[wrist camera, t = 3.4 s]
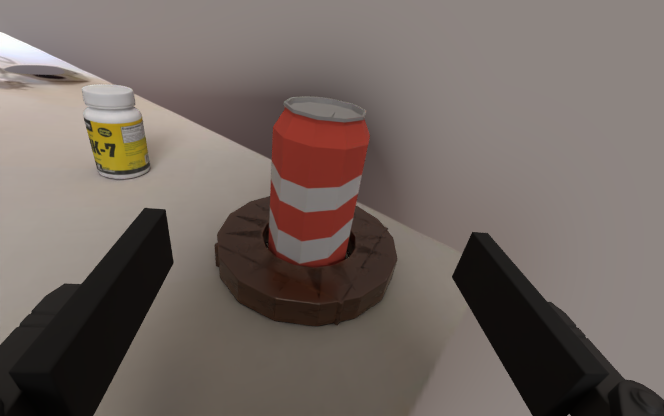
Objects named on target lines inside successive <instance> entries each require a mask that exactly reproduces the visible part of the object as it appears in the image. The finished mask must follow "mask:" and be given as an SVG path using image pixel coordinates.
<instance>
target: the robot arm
mask: <svg viewBox="0 0 664 416" xmlns="http://www.w3.org/2000/svg"><path fill="white" fill-rule="evenodd" d="M172 265H173V256H172V249H171V243H170V236H169V229H168V223H167V216H166V210H165V209H151V208H144V209H143V211H142V212H141V213H140V214H139V215H138V217H137V218H136V219H135V220H134V221H133V223H132V224H131V225H130V226H129V227H128V229H127V230H126V231H125V232H124V234H123V235H122V236H121V237H120V238H119V240H118V241H117V242H116V243H115V244H114V246H113V247H112V248H111V249H110V250H109V252H108V253H107V254H106V255H105V256H104V258H103V259H102V260H101V261H100V262H99V264H98V265H97V266H96V267H95V268H94V270H93V271H92V272H91V273H90V274H89V276H88V277H87V278H86V279H85V281H84V282H83V283H82V284H63V285H62V286H60V287H59V288H57V289H56V290H54V291H53V292H51V293H50V294H48V295H46V296H45V297H44V298H43V299H42V300H41V302H40V303H39V304H38V305H37V306H36V307H35V308H34V309H33V310H32V313H31V314H29V315H28V316H27V317H26V318H25V319H24V320H23V321H22V322H21V323H20V326H19V327H16V329H15V330H14V331H13V332H12V333H11V334H10V335H9V336H8V337H7V338H6V339H5V340H4V342H3V343H2V344H1V345H0V416H93V415H94V413H95V412H96V410H97V408H98V406H99V404H100V402H101V400H102V398H103V396H104V394H105V393H106V391H107V389H108V387H109V385H110V383H111V381H112V379H113V377H114V375H115V373H116V372H117V370H118V368H119V366H120V364H121V362H122V360H123V358H124V356H125V354H126V353H127V351H128V349H129V347H130V345H131V343H132V341H133V339H134V337H135V335H136V333H137V332H138V330H139V328H140V326H141V324H142V322H143V320H144V318H145V316H146V314H147V313H148V311H149V309H150V307H151V305H152V303H153V301H154V299H155V297H156V295H157V293H158V292H159V290H160V288H161V286H162V284H163V282H164V280H165V278H166V276H167V274H168V273H169V271H170V269H171V267H172ZM452 278H453V280H454V281H455V283H456V285H457V287H458V288H459V290H460V292H461V293H462V295H463V297H464V299H465V300H466V302H467V304H468V305H469V307H470V309H471V310H472V312H473V314H474V316H475V317H476V319H477V321H478V323H479V324H480V326H481V328H482V329H483V331H484V333H485V335H486V336H487V338H488V340H489V342H490V343H491V345H492V347H493V348H494V350H495V352H496V354H497V355H498V357H499V359H500V360H501V362H502V364H503V366H504V367H505V369H506V371H507V372H508V374H509V376H510V377H511V379H512V381H513V383H514V384H515V386H516V388H517V390H518V391H519V393H520V395H521V396H522V398H523V400H524V402H525V403H526V405H527V407H528V408H529V410H530V412H531V414H532V415H533V416H567V415H568V414H570V415H571V416H664V400H663V399H662V398H661V397H660V396H659V395H657V394H656V393H655V392H654V391H652V390H651V389H649V388H647V387H646V386H644V385H642V384H640V383H637V382H635V381H632V380H625V379H624V378H623V377H622V376H621V375H620V374H619V372H618V371H617V370H616V369H615V368H614V367H613V366H612V365H611V364H610V362H608V360H607V359H606V358H605V357H604V356H603V355H602V354H601V352H600V351H599V350H598V349H597V348H596V347H595V346H594V345H593V343H592V342H591V341H590V340H589V339H588V338H586V337H585V335H584V333H582V331H581V330H580V329H579V328H577V327H576V325H575V324H574V322H573V321H572V320H571V319H570V318H569V317H568V316H567V314H566V313H564V312H563V311H562V310H561V309H559V308H558V307H556V306H555V305H554V304H553V303H551V302H547V301H546V300H545V299H544V298H543V297H542V295H541V294H540V293H539V292H538V291H537V290H536V288H535V287H534V286H533V285H532V284H531V283H530V281H529V280H528V279H527V278H526V277H525V276H524V275H523V273H522V272H521V271H520V270H519V269H518V268H517V266H516V265H515V264H514V263H513V262H512V261H511V260H510V258H509V257H508V256H507V255H506V254H505V253H504V252H503V250H502V249H501V248H500V247H499V246H498V245H497V243H495V241H494V240H493V239H492V238H491V236H490V235H489V234H488V233H478V232H472V234H471V236H470V238H469V241H468V243H467V245H466V247H465V249H464V251H463V254H462V256H461V258H460V260H459V263H458V265H457V267H456V269H455V271H454V274H453V276H452Z"/></svg>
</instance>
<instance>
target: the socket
mask: <svg viewBox="0 0 664 416" xmlns="http://www.w3.org/2000/svg"><path fill="white" fill-rule="evenodd" d="M269 218H270V196H269V197H265V198H262V199H258V200H254V201H251V202H249V203H247V204H246V205H244V206H242V207H241V208H239V209H237V210H236V211H234V212H233V213H231V214H230V215H229V216H228V218H227V219H226V221H225V222H224V224H223V226H222V227H221V229H220V230H219V232H218V234H217V239H218V243H216V244H215V257H216V266H217V267H219V269H220V278H221V279H222V281H223V282H224V283H225V285H226V286H227V287H228V289H229V290H230V291H231V293H232V294H233V295H234V296H235V298H236V299H237V300H238V302H240V303H241V304H243V305H245V306H247V307H249V308H251V309H253V310H255V311H257V312H259V313H260V314H262V315H264V316H266V317H268V318H270V319H272V320H274V321H281V322H288V323H296V324H303V325H311V326H320V325H325V324H330V323H334V324H336V325H338V324H339V322H340V321H345V320H349V319H354V318H356V317H358V316H359V315H361V314H362V313H364V312H365V311H366V310H368V309H369V308H371V307H372V306H374V305H375V304H376V303H378V302H379V301H381V299H382V298H383V296H384V293H385V291H386V289H387V287H388V285H389V282H390V280H391V278H392V275H393V272H394V269H395V266H396V262H397V255H396V250H395V245H394V240H393V237H392V236H391V234H390V233H389V232H388V231H387V230H388V228H386V227H384V226H383V225H382V223H381V222H380V221H379V220H378V219H377V218H375V217H373V216H372V215H370V214H369V213H367V212H366V211H364V210H362V209H361V208H359V207H358V206H355V211H354V216H353V221H352V226H351V231H350V236H349V241H348V246H347V249H348V251H349V253H350V254H351V255H350V256H349V258H347V259H345V260H343V261H341V262H339V263H337V264H335V265H331V266H323V267H316V268H313V267H306V266H299V265H293V264H291V263H288V262H286V261H284V260H282V259H279V258H277V257H276V256H275V255H274V254H273V253H272V252H271V251H270V250H269V249H268V248H267V247H266V246H265V245H266V243H267V242H268V241H269Z"/></svg>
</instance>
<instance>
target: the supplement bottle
mask: <svg viewBox="0 0 664 416" xmlns="http://www.w3.org/2000/svg"><path fill="white" fill-rule="evenodd" d="M82 93H83V100H84V102H85V104H86V105H87V106H89V107H87V108H86V109H85V110H84V112H83V116H84V121H85V124H86V128H87V132H88V135H89V139H90V143H91V147H92V151H93V154H94V158H95V162H96V166H97V169H98V172H99V173H100V174H101V175H103V176H105V177H108V178H113V179H129V178H134V177H138V176H141V175H143V174H145V173H146V172H148V171H149V169H150V163H149V156H148V150H147V144H146V138H145V132H144V126H143V120H142V115H141V112H140V111H139V110H138V109H137V108H135V107H133V106H134V105H135V98H134V93H133V90H132V89H131V88H129V87H126V86H120V85H110V84H95V85H87V86H84V87H82Z"/></svg>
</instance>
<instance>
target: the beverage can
mask: <svg viewBox="0 0 664 416" xmlns="http://www.w3.org/2000/svg"><path fill="white" fill-rule="evenodd" d="M284 106H285V110H284V111H283V113H282V114H281V116H280V117H279V119H278V120H277V122H276V124H275V125H274V127H273V145H272V169H271V193H270V218H269V242H268V248H269V250H270V251H271V252H272V253H273V254H274V255H275V256H276V257H277V258H279V259H282V260H284V261H286V262H288V263H291V264H293V265H299V266H306V267H313V268H316V267H323V266H331V265H335V264H337V263H339V262H341V261H343V260H345V255H346V251H347V246H348V241H349V236H350V231H351V226H352V221H353V216H354V211H355V206H356V201H357V196H358V191H359V186H360V181H361V177H362V171H363V167H364V162H365V157H366V152H367V147H368V142H369V137H370V135H369V132H368V129H367V126H366V123H365V120H364V117H365V114H366V110H364V109H362V108H360V107H358V106H356V105H355V104H351V103H348V102H344V101H340V100H336V99H330V98H321V97H312V96H306V97H291V98H289V99H288V100H286V101H284Z"/></svg>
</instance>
